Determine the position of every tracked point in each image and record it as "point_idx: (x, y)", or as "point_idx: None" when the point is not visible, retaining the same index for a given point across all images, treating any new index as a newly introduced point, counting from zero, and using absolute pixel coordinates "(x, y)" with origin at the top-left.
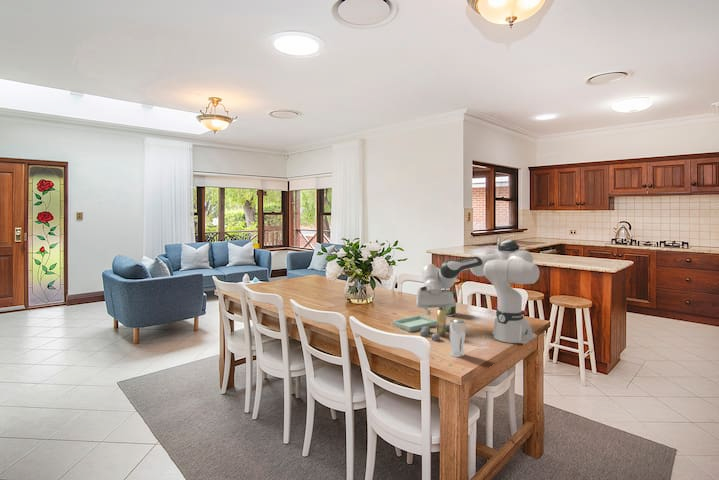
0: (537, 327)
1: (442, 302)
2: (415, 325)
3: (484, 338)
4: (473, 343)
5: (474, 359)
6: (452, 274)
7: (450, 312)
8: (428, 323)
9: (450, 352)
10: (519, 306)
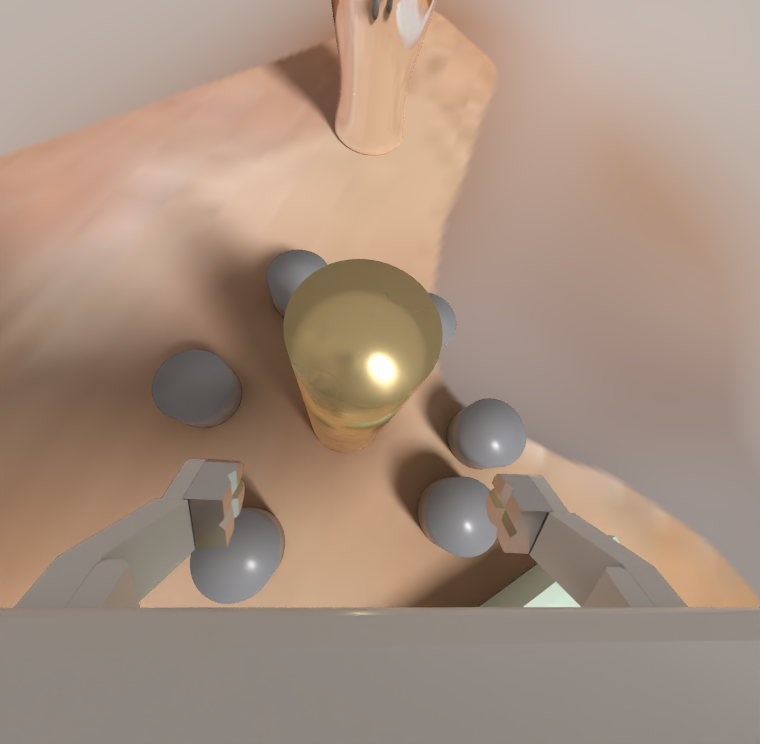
0: None
1: (195, 667)
2: (558, 594)
3: (33, 302)
4: (189, 234)
5: (310, 75)
6: None
7: None
8: None
9: (403, 125)
10: None
